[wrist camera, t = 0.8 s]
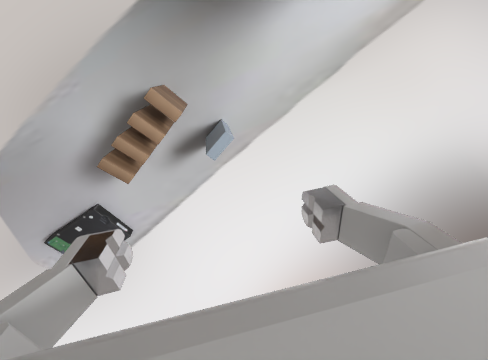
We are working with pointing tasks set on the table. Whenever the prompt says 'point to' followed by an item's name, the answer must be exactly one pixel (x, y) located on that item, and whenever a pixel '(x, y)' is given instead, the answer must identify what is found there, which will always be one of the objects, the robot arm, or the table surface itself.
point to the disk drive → (86, 228)
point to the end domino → (218, 140)
